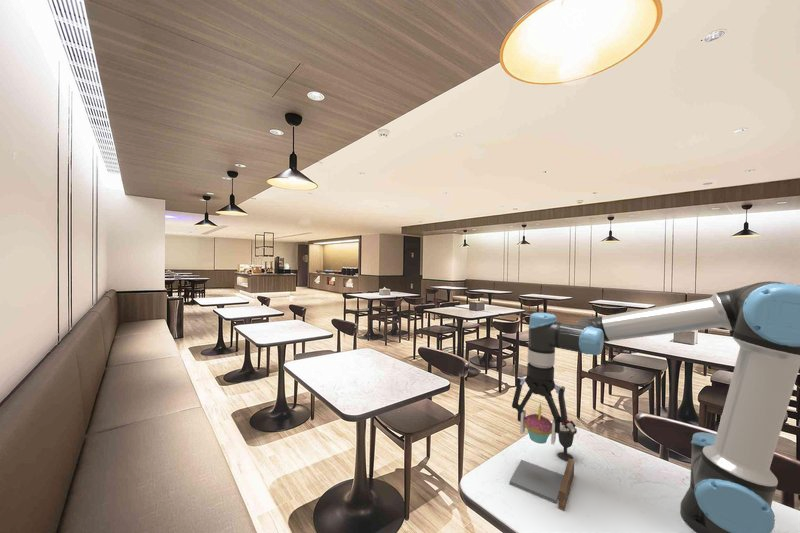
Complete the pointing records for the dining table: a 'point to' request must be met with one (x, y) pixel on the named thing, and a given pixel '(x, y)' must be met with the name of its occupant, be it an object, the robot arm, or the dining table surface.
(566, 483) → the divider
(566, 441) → the sundae
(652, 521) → the dining table surface
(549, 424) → the cupcake
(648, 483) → the dining table surface
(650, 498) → the dining table surface
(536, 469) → the board
